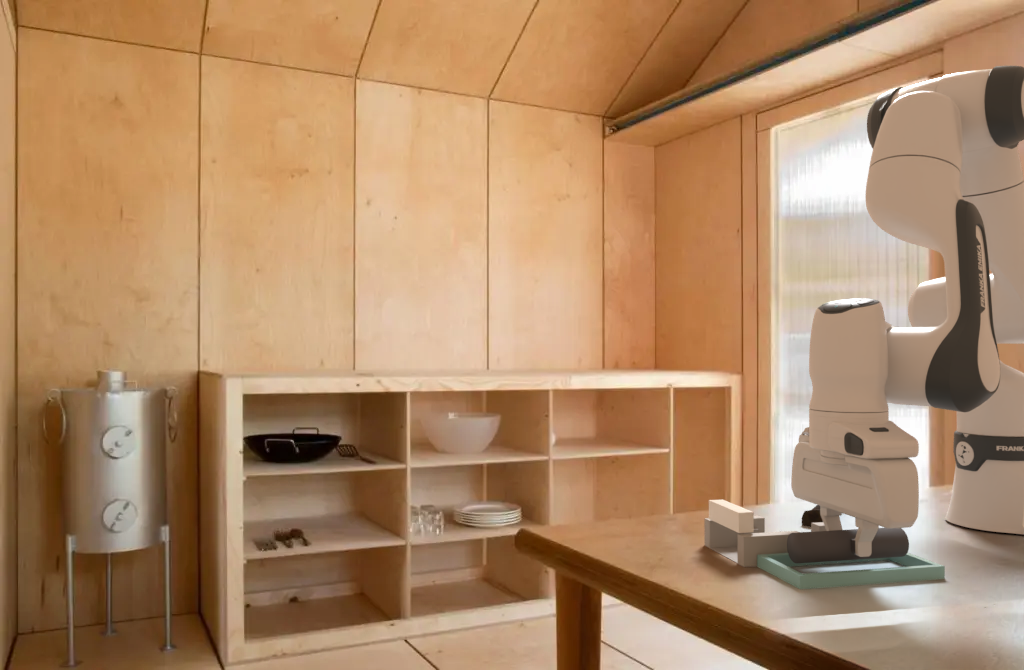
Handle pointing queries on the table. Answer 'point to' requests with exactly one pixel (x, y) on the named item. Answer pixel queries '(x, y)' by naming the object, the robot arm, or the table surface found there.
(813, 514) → the hand tool
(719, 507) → the cream square beam
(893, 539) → the dark grey cylinder
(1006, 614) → the table surface
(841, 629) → the table surface
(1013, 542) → the table surface
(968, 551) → the table surface
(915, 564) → the tray
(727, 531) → the cradle
